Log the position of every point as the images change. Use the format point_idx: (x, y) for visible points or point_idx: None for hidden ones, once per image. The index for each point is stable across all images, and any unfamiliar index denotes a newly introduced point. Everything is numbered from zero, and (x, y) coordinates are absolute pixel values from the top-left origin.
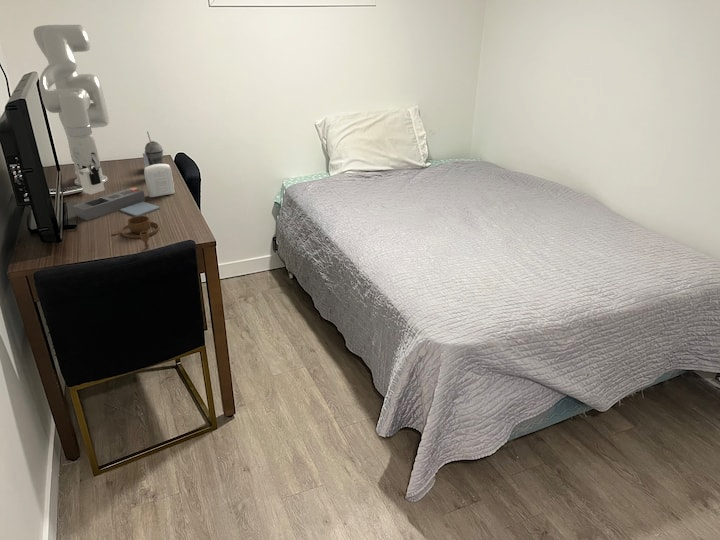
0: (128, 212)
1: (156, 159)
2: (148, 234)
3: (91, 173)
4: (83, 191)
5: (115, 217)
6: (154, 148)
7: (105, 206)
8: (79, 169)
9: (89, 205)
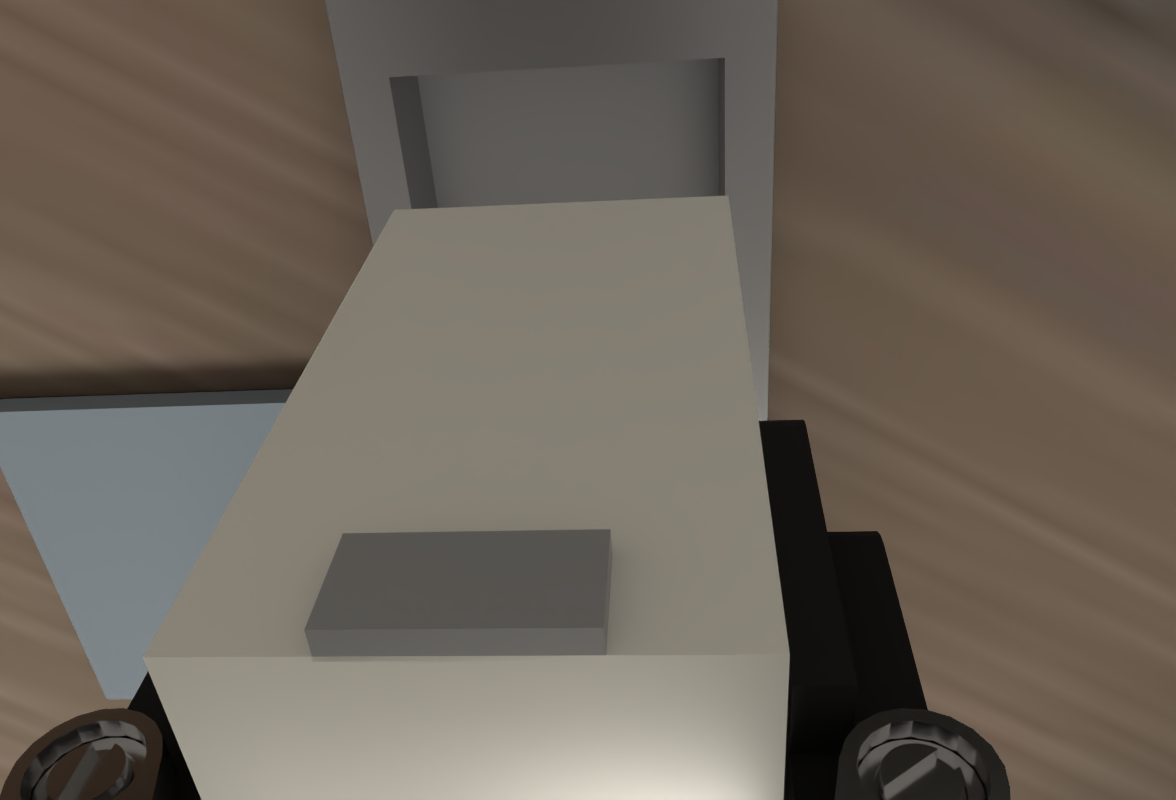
0: (170, 409)
1: None
2: None
3: (79, 751)
4: (712, 203)
5: (171, 213)
6: None
7: None
8: (983, 756)
9: (489, 58)
